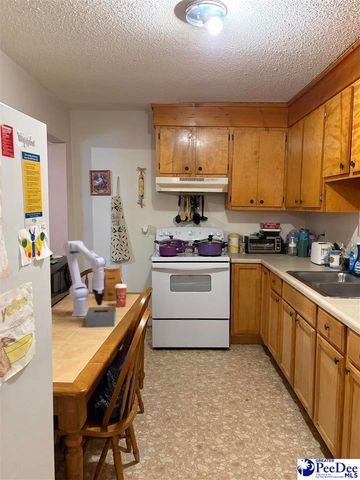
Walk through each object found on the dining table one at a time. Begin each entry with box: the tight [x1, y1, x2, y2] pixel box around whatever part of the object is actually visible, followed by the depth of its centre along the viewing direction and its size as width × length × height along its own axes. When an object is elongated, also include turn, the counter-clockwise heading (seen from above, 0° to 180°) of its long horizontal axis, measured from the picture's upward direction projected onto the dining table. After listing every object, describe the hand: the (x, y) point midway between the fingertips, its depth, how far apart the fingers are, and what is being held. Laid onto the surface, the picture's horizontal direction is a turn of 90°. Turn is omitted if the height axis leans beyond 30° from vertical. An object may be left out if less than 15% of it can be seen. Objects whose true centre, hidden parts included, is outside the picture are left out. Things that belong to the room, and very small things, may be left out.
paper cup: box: [115, 283, 128, 308], centre depth 227 cm, size 8×8×14 cm
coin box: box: [84, 306, 117, 328], centre depth 195 cm, size 17×15×6 cm
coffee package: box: [102, 267, 122, 302], centre depth 243 cm, size 10×12×22 cm
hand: (98, 303), depth 195 cm, fingers open, 7 cm apart
